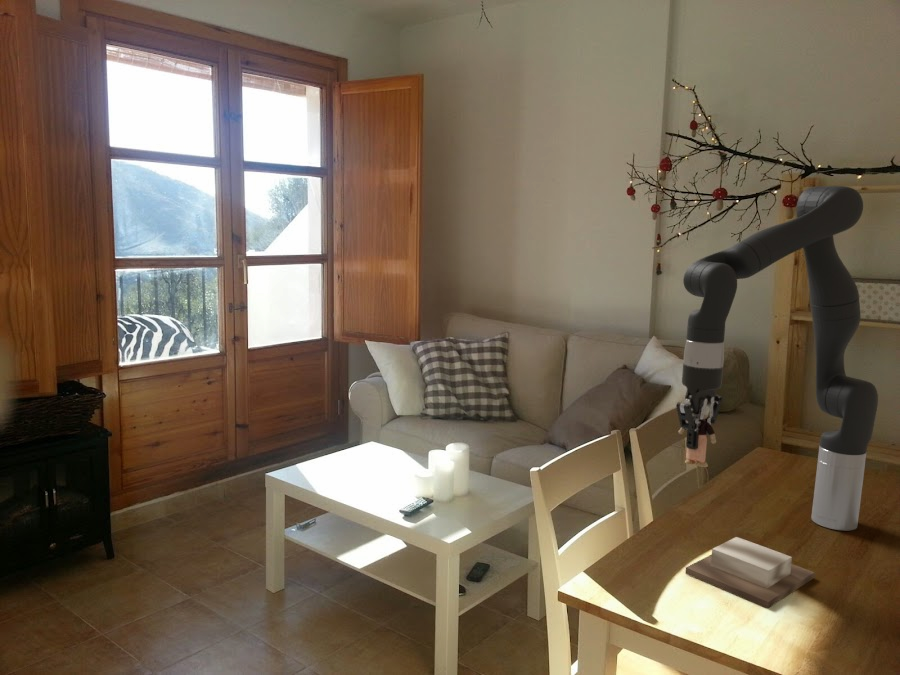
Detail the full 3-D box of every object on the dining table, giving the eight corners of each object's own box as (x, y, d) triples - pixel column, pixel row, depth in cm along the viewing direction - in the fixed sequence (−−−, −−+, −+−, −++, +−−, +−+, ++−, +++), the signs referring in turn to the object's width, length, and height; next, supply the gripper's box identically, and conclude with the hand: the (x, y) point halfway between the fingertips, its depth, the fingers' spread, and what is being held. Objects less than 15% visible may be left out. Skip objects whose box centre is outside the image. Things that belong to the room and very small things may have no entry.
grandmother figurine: (714, 466, 149) (724, 404, 148) (711, 469, 146) (721, 407, 145) (675, 457, 153) (684, 397, 152) (671, 461, 149) (681, 399, 148)
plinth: (734, 548, 151) (736, 526, 150) (813, 578, 139) (816, 555, 138) (685, 573, 139) (687, 550, 139) (767, 608, 127) (770, 583, 127)
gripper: (701, 370, 139) (694, 458, 142) (738, 362, 148) (731, 445, 151) (666, 363, 145) (660, 448, 147) (704, 356, 154) (698, 436, 156)
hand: (696, 446), depth 149 cm, fingers closed on grandmother figurine, 2 cm apart
